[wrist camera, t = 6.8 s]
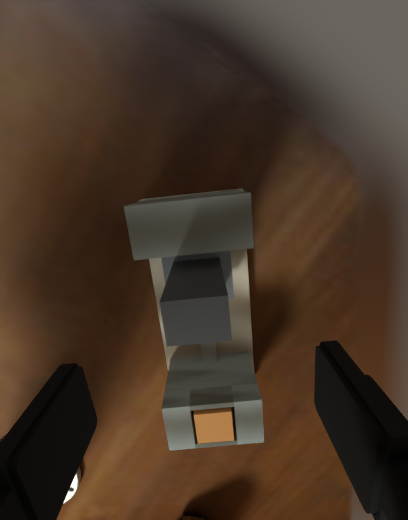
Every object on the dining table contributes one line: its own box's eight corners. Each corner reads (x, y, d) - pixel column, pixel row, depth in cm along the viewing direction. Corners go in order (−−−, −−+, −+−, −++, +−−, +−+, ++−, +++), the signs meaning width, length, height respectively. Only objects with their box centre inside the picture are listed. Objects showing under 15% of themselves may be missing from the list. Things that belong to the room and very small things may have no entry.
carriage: (229, 282, 28) (249, 352, 16) (172, 288, 28) (153, 361, 17) (226, 236, 26) (244, 277, 15) (165, 242, 26) (139, 288, 15)
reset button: (231, 420, 27) (234, 440, 25) (198, 423, 27) (197, 443, 25) (229, 392, 26) (231, 411, 24) (194, 395, 26) (193, 415, 24)
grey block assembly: (252, 377, 33) (269, 441, 25) (173, 385, 34) (164, 450, 25) (240, 188, 27) (258, 192, 19) (142, 199, 27) (116, 207, 19)
